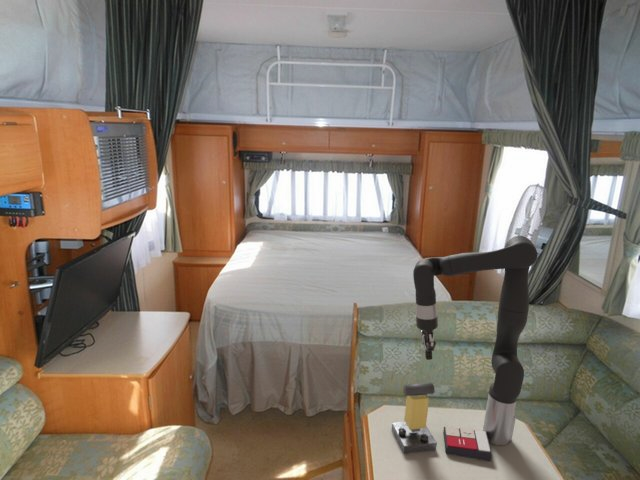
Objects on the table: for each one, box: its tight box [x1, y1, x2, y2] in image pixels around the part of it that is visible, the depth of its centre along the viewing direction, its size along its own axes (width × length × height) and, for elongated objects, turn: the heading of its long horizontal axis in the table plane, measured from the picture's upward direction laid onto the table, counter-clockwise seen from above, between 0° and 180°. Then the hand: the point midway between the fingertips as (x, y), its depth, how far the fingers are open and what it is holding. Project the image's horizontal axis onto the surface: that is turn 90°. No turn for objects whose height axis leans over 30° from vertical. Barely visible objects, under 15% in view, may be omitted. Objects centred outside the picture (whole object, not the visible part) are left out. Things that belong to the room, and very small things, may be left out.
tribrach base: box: [391, 421, 438, 454], centre depth 153 cm, size 12×12×4 cm
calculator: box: [442, 425, 493, 462], centre depth 151 cm, size 11×4×15 cm
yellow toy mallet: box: [402, 382, 435, 432], centre depth 150 cm, size 10×5×18 cm, turn 101°
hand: (428, 358), depth 156 cm, fingers closed
